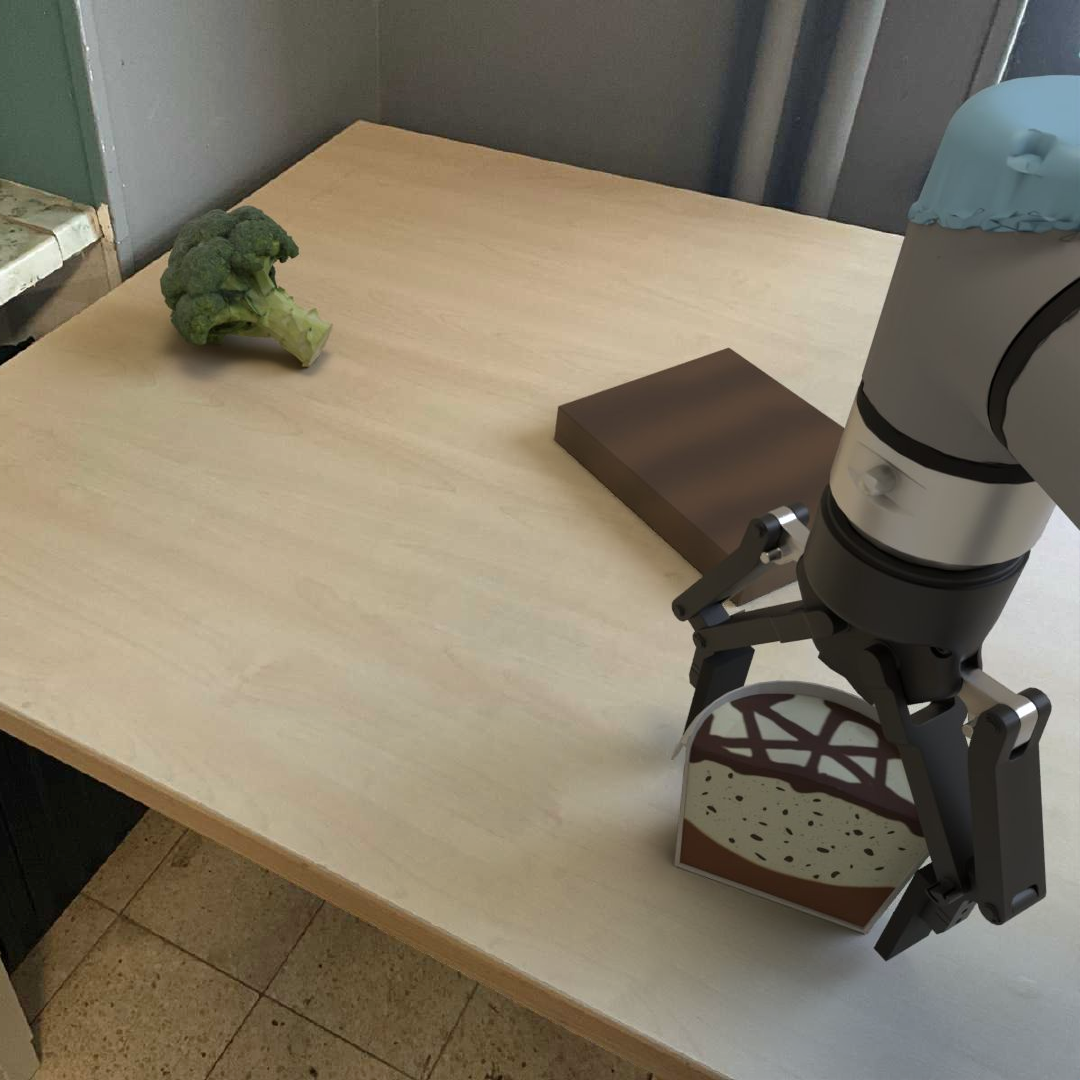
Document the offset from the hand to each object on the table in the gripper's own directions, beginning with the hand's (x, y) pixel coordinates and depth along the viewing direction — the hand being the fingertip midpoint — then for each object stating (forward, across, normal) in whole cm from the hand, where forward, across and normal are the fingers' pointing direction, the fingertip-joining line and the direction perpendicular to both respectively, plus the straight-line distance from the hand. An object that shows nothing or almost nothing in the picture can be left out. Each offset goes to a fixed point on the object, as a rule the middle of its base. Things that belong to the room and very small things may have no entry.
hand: (795, 831), depth 58 cm
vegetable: (+3, -58, -4) cm, 58 cm away
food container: (+2, 0, 0) cm, 2 cm away
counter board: (+2, -25, +18) cm, 31 cm away
